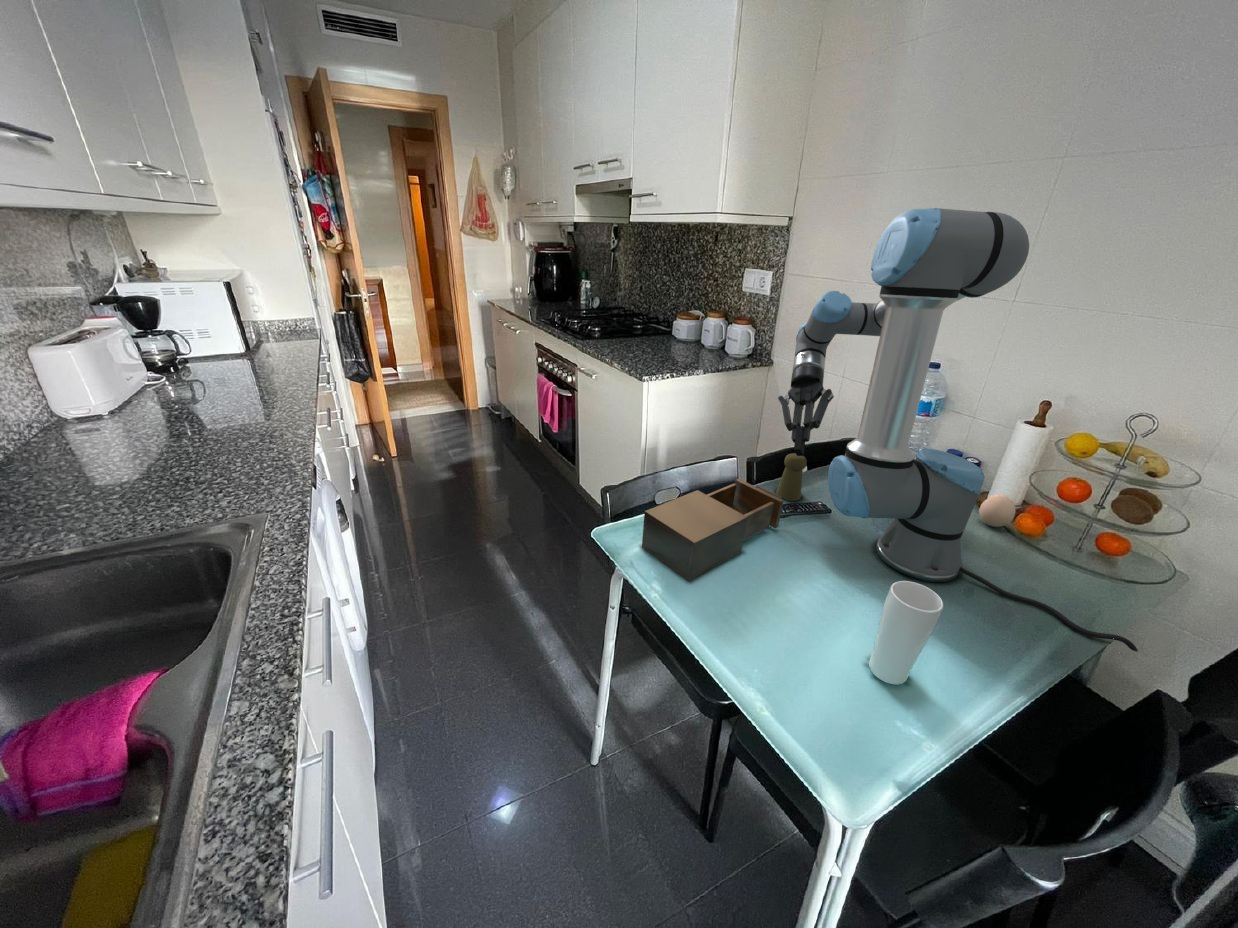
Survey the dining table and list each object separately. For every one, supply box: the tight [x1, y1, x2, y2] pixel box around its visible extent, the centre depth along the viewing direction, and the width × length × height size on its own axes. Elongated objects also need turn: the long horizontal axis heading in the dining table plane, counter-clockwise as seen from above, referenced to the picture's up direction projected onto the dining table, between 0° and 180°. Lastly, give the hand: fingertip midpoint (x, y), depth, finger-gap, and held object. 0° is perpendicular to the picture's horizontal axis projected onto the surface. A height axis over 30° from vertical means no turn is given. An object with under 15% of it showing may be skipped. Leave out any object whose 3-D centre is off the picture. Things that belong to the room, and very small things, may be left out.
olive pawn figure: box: [775, 452, 808, 502], centre depth 125 cm, size 6×6×11 cm
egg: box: [978, 494, 1016, 528], centre depth 116 cm, size 7×7×8 cm
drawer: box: [706, 478, 785, 542], centre depth 111 cm, size 19×12×7 cm, turn 129°
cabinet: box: [641, 489, 748, 582], centre depth 101 cm, size 16×14×9 cm
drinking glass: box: [868, 580, 944, 686], centre depth 73 cm, size 7×7×15 cm
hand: (798, 452), depth 115 cm, fingers closed
